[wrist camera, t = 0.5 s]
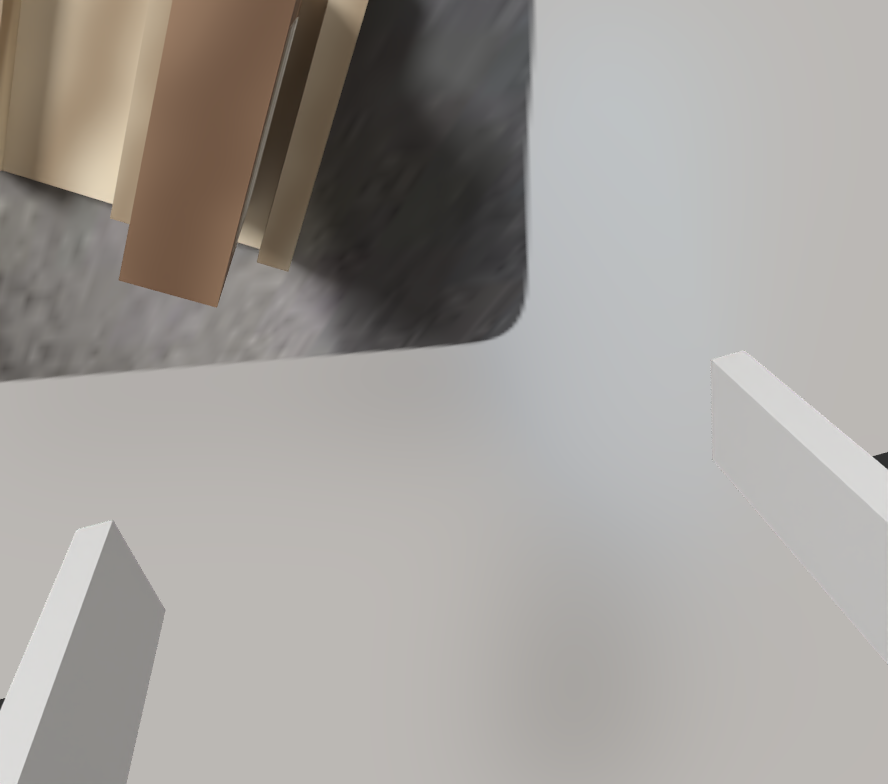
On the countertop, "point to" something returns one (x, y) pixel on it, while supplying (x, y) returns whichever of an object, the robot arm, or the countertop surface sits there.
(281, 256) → the slotted rack
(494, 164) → the countertop surface
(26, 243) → the countertop surface
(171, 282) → the wooden block
